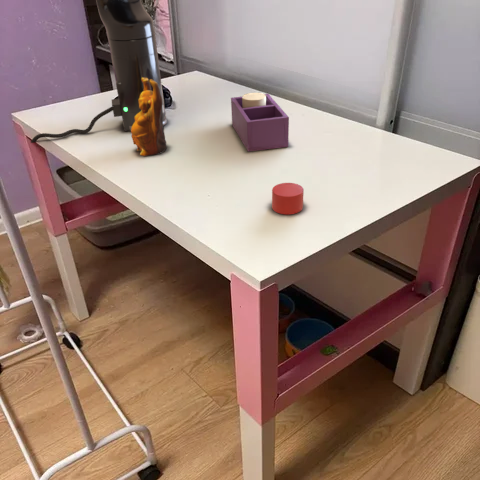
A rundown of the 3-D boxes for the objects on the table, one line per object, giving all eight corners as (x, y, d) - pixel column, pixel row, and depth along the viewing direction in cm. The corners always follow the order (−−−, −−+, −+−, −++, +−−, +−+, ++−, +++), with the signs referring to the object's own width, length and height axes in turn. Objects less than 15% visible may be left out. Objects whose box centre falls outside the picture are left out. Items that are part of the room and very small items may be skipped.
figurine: (129, 151, 99) (116, 82, 91) (155, 141, 103) (146, 73, 95) (149, 160, 96) (138, 88, 88) (176, 149, 100) (168, 79, 91)
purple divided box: (248, 151, 97) (247, 122, 94) (232, 125, 109) (230, 97, 105) (288, 146, 98) (289, 117, 95) (268, 120, 110) (268, 93, 106)
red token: (276, 216, 78) (276, 198, 76) (268, 202, 81) (268, 184, 79) (306, 212, 78) (307, 194, 76) (297, 198, 82) (298, 180, 80)
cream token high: (245, 116, 102) (244, 101, 100) (240, 109, 105) (239, 94, 103) (268, 114, 102) (268, 98, 100) (262, 106, 106) (262, 91, 104)
